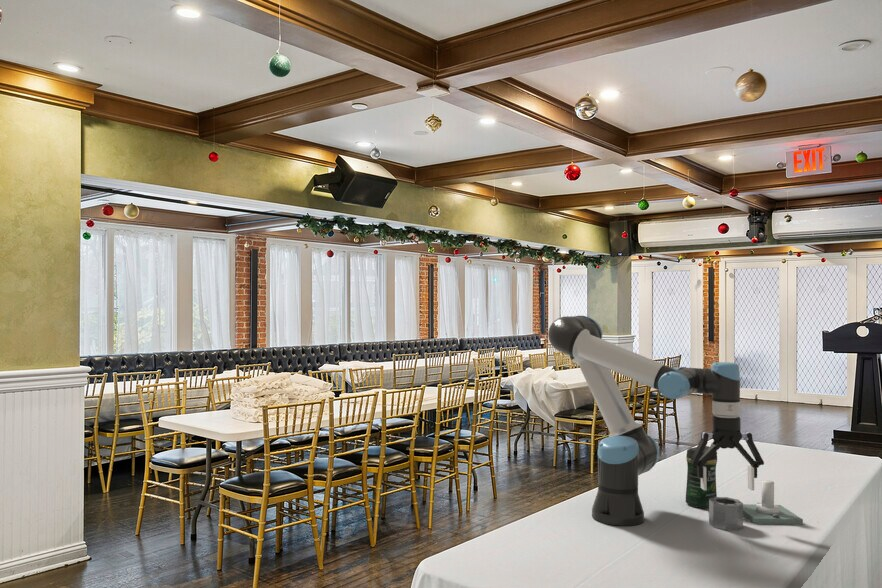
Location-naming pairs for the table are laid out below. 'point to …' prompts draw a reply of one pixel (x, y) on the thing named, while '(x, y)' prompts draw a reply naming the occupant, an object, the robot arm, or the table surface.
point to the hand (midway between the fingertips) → (727, 489)
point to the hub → (726, 513)
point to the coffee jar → (693, 489)
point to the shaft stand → (769, 509)
